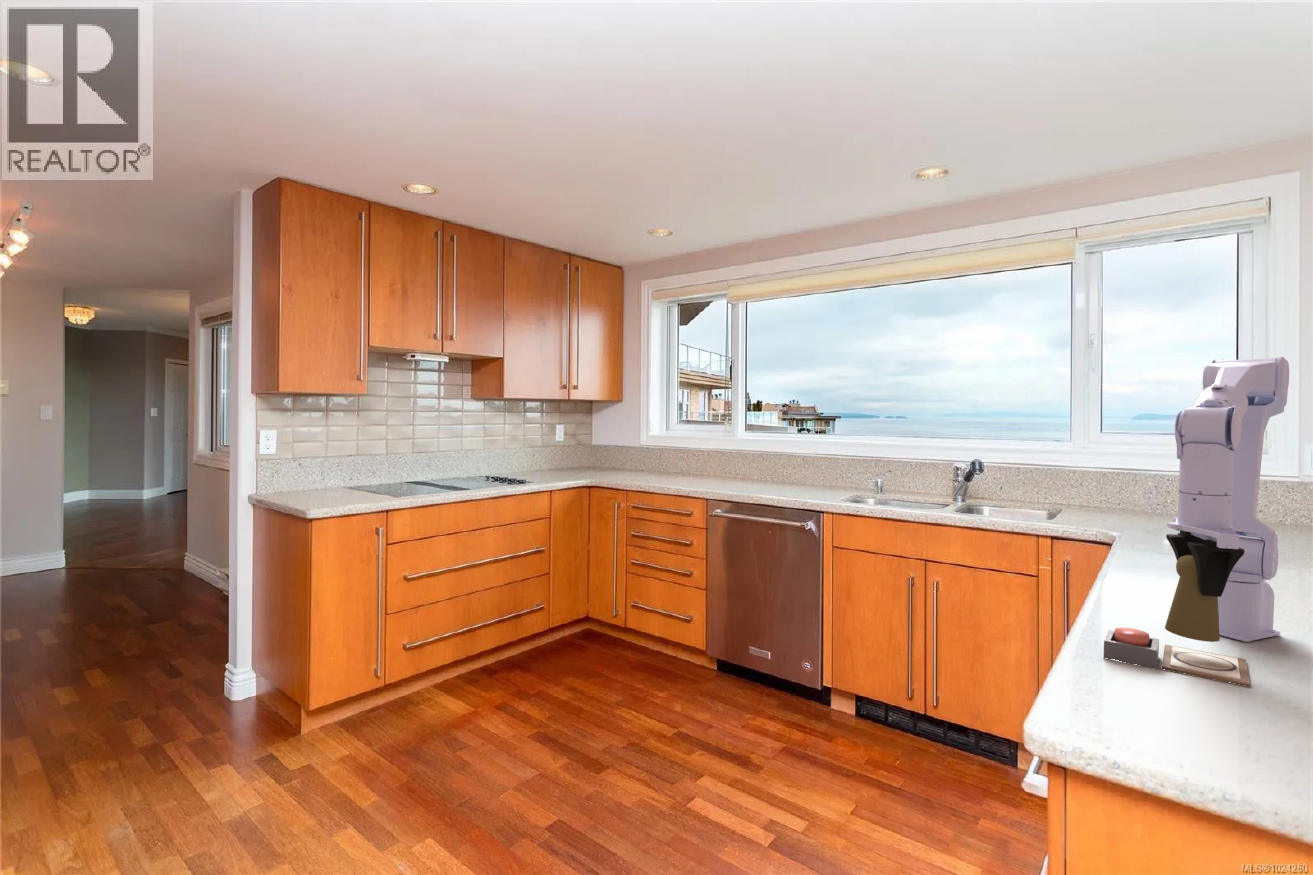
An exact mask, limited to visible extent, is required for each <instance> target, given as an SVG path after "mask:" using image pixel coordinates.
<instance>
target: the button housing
mask: <svg viewBox="0 0 1313 875" xmlns="http://www.w3.org/2000/svg"><path fill="white" fill-rule="evenodd" d="M1159 646H1160V639H1159V638H1156V637H1150V636H1149V647H1143V646H1137V645H1132V644H1127V643H1121V642H1116V641H1115V630H1111V629H1108V631H1107V632H1106V635H1105V637H1104V640H1103V659H1104V658H1108V659H1115V660H1119V661H1122V662H1121V663H1123V662H1126V663H1125V664H1128V663H1129V664H1128V665H1133V664H1137V665H1136V666H1138V665H1140V666H1139V667H1142V666H1143V668H1147V667H1148V668H1147V669H1152V668H1155V669H1154V670H1157V667H1158V660H1159V652H1160V650H1159V648H1160V647H1159ZM1108 659H1107V660H1108Z"/></svg>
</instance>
